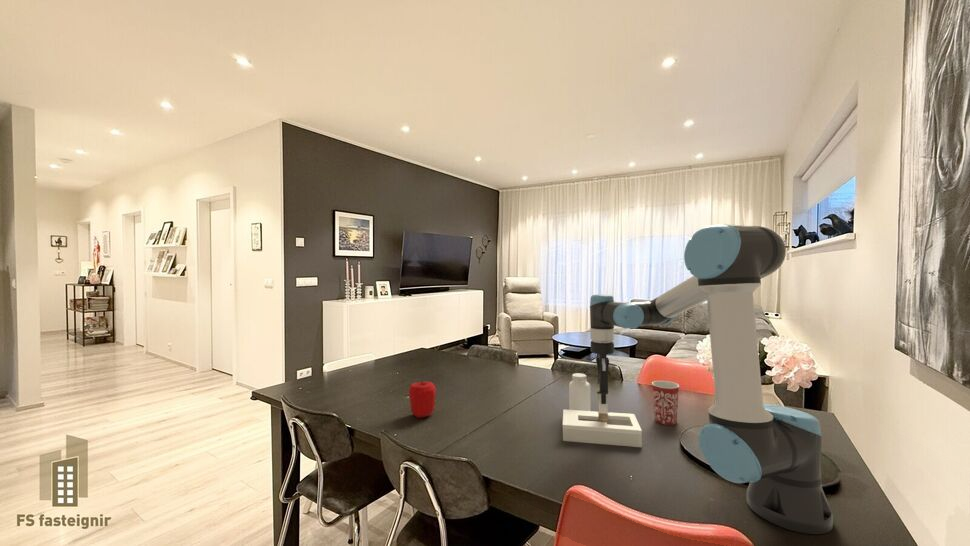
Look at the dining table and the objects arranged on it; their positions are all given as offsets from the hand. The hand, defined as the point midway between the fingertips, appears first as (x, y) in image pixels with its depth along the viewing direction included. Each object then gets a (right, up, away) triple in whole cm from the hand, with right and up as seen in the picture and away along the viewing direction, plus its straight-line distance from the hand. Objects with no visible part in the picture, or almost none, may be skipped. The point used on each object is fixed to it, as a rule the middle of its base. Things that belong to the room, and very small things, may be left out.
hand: (602, 410), depth 127 cm
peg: (0, -8, 0) cm, 8 cm away
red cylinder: (-63, -9, +19) cm, 67 cm away
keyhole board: (-1, -8, 0) cm, 8 cm away
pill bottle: (-3, -8, +19) cm, 21 cm away
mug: (+27, -8, +12) cm, 31 cm away
